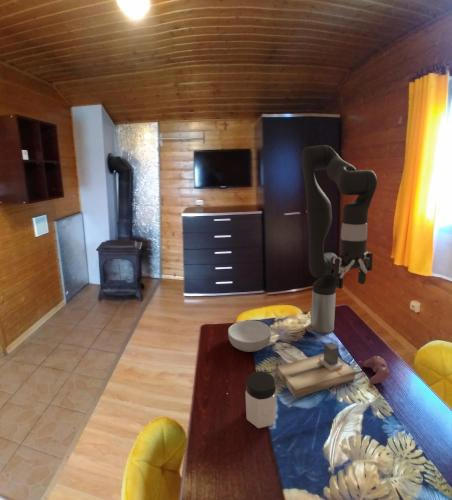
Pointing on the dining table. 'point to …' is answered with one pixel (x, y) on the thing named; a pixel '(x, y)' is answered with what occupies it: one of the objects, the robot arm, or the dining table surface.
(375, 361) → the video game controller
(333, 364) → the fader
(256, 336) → the cereal bowl
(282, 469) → the dining table surface
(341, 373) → the tan flat block
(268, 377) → the jar
